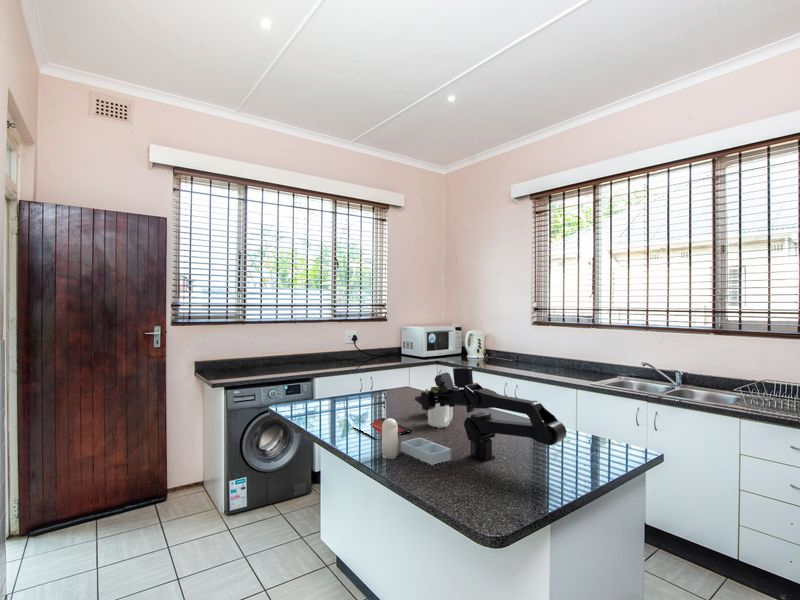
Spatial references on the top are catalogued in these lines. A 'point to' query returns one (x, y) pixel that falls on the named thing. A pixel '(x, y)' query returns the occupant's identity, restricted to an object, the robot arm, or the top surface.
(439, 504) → the top surface
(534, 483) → the top surface
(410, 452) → the divided tray
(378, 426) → the binder
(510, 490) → the top surface
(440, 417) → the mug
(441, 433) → the top surface
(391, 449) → the cream rounded cylinder
